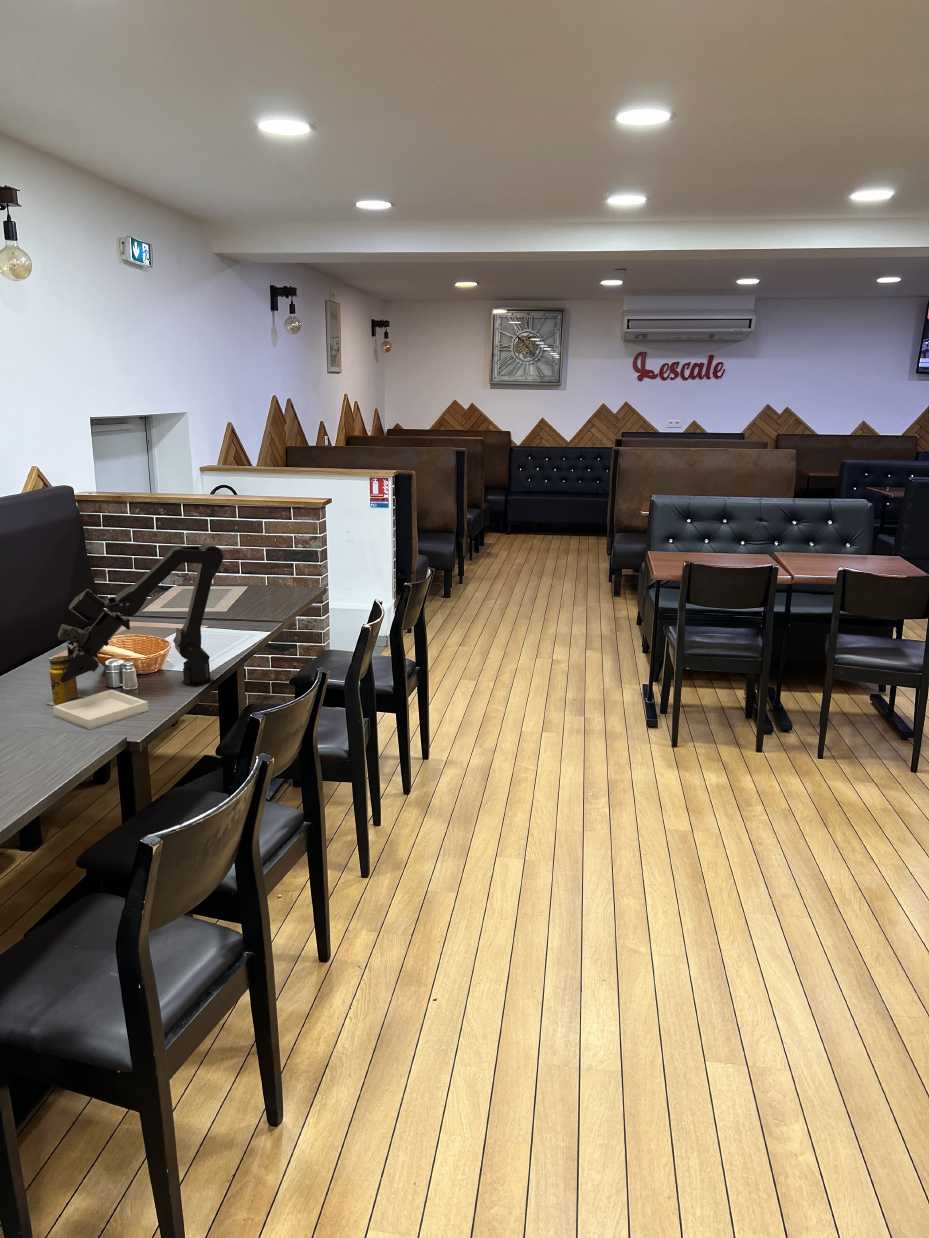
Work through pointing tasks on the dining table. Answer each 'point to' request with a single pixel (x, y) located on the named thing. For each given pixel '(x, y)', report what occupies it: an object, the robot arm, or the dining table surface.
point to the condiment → (59, 689)
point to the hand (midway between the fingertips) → (60, 678)
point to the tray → (100, 709)
